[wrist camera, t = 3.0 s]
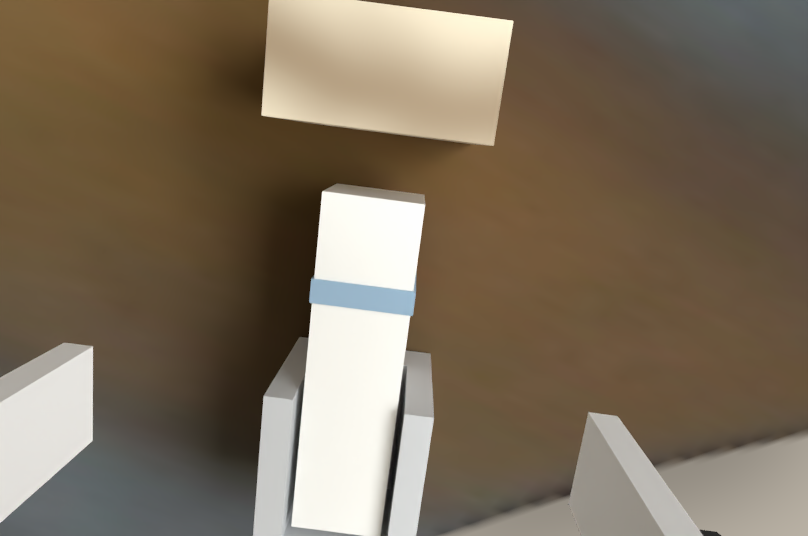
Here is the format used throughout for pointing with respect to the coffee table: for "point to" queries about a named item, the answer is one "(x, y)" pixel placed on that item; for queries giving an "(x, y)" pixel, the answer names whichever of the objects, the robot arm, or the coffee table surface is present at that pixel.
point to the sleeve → (283, 444)
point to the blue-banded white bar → (355, 355)
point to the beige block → (385, 68)
